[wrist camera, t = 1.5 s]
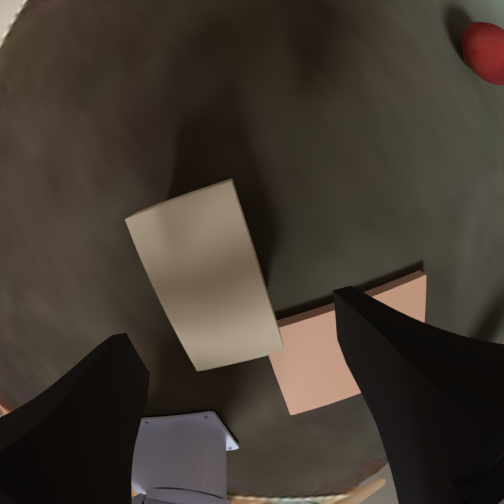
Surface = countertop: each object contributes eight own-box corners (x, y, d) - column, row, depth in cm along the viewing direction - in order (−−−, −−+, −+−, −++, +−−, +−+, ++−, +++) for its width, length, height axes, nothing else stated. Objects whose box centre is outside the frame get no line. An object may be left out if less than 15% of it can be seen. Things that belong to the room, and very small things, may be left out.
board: (289, 407, 24) (290, 415, 23) (259, 325, 20) (260, 333, 19) (414, 360, 23) (419, 366, 22) (419, 270, 20) (426, 274, 19)
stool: (271, 298, 20) (284, 350, 14) (206, 316, 20) (197, 371, 14) (233, 174, 17) (231, 181, 11) (159, 199, 17) (124, 219, 11)
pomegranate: (476, 43, 13) (530, 30, 5) (488, 94, 15) (548, 91, 7) (437, 25, 13) (494, 0, 5) (452, 80, 14) (519, 67, 7)
